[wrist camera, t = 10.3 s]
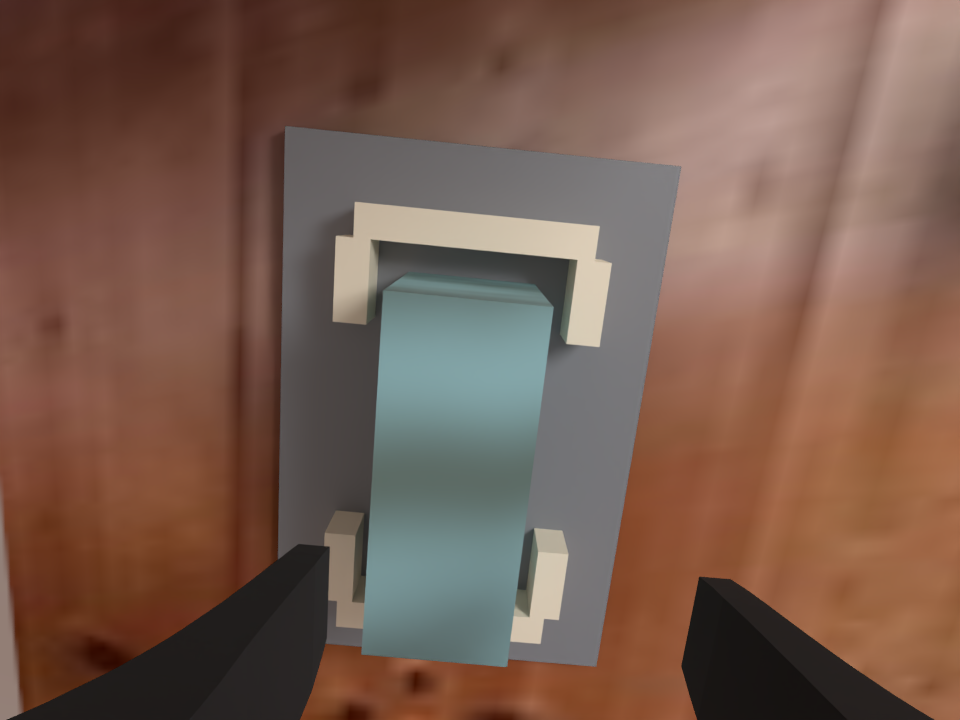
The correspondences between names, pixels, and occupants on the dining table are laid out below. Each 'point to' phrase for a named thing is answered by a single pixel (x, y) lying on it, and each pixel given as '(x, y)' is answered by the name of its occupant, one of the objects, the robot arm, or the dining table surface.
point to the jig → (484, 255)
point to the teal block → (452, 465)
